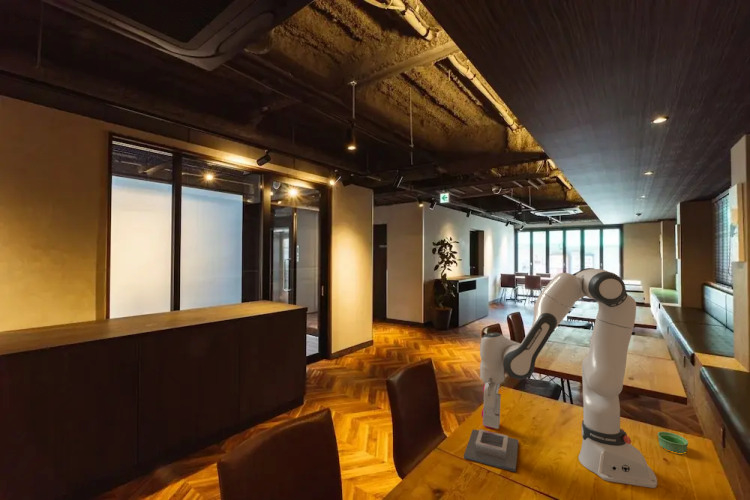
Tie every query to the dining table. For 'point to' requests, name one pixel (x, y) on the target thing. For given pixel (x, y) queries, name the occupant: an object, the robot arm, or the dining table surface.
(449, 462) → the dining table surface
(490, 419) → the skincare box
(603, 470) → the robot arm
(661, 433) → the ramekin
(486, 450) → the ring block
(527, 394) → the dining table surface
